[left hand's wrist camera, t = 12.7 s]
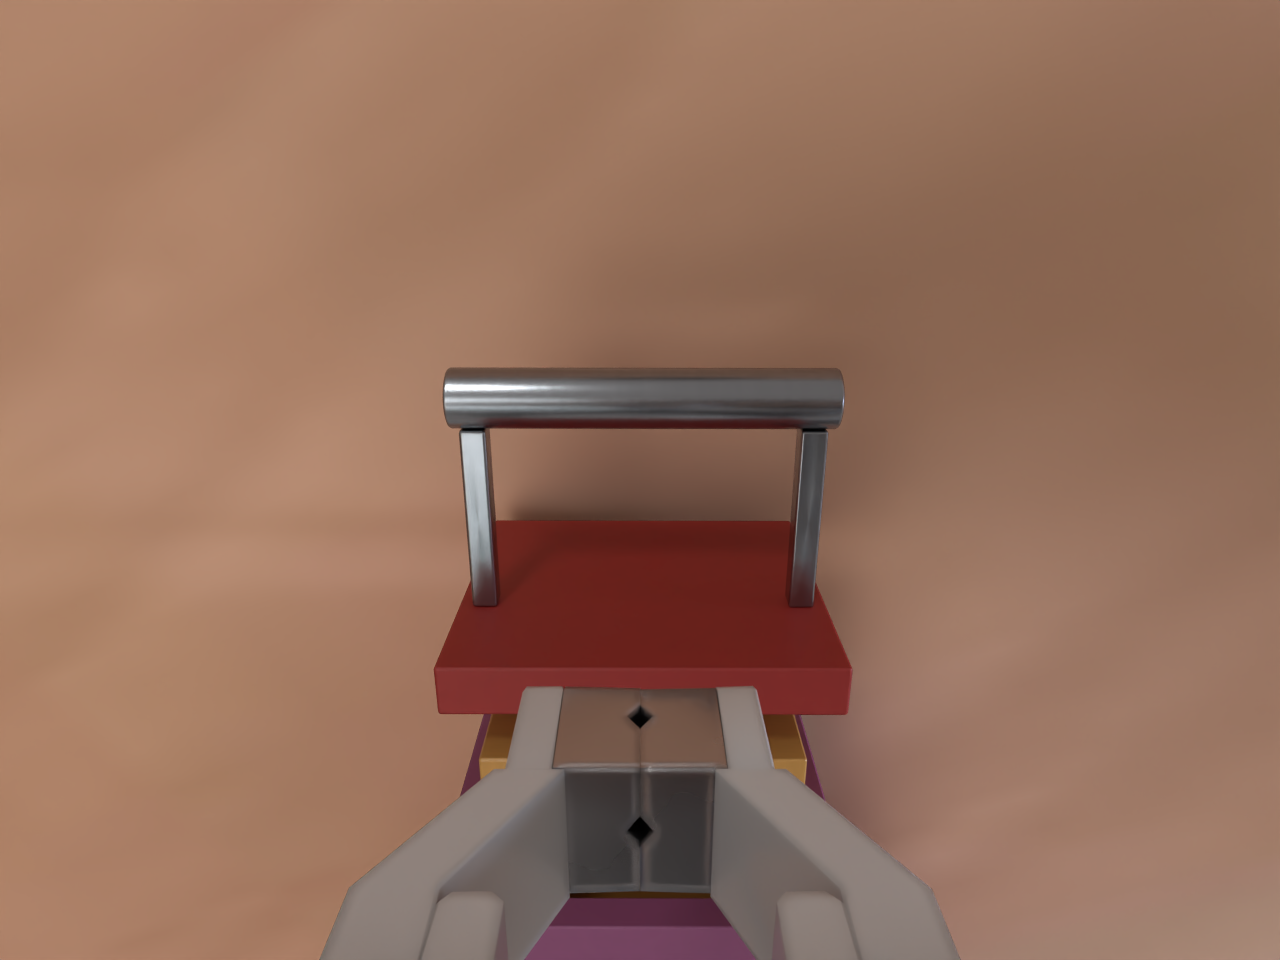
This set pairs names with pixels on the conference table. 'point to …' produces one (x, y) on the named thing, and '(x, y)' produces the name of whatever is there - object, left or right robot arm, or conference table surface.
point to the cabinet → (640, 912)
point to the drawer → (644, 561)
